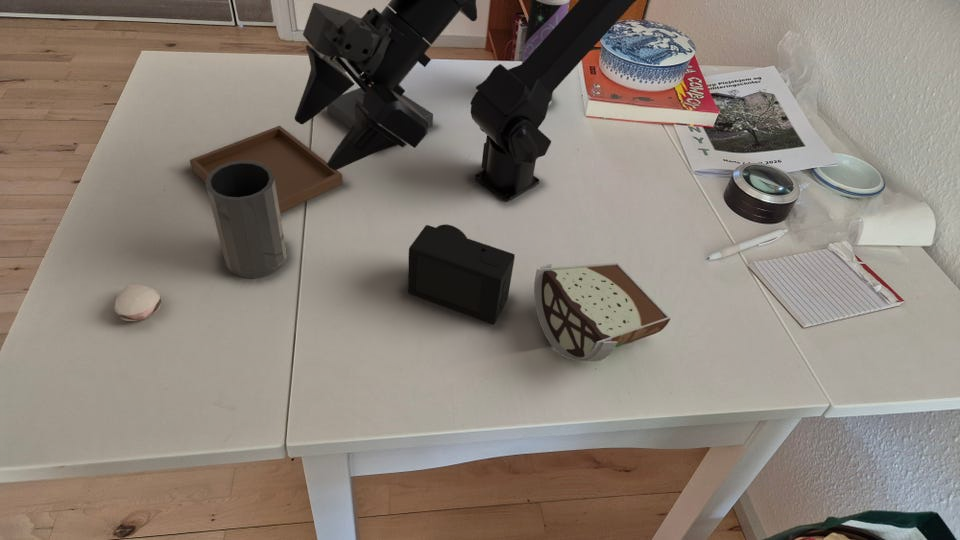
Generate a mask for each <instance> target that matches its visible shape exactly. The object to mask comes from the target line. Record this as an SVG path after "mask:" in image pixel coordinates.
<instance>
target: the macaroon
mask: <svg viewBox="0 0 960 540" xmlns="http://www.w3.org/2000/svg"><path fill="white" fill-rule="evenodd" d="M161 304H162V299H161V295H160V293H159V292H158V291H157V290H156V289H154V288H152V287H150V286H148V285H142V284H141V285H140V284H133V283H129V284H126V285H125V286H124V288H123V289H122V290H121V291H120V293H119V294H118V295H117V296H116V298H115V302H114V306H113V308H114V312H115V314H116V315H117V317H118V318H120V319H121V320H123V321H127V322H137V321H140V320H145V319H147V318H148V317H150V316H153V315H154V314H155V313H157V311H158V310H159V309H160V308H161Z"/></svg>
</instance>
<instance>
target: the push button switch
mask: <svg viewBox="0 0 960 540" xmlns="http://www.w3.org/2000/svg"><path fill="white" fill-rule="evenodd" d="M364 94H365V92H364V91H363V90H362V89H361V88H360V87H359V88H356V89H353V90H351V91H348V92H345V93H343V94H342V95H340V96H339V97H338V98H337V99H336V100H334V101H333V102H332V103H331V104H329V105H328V106H327V107H326V109H327V111H326V112H327V114H328V115H329V116H331V117H332V118H333V119H335V120H336V121H337V122H339V123H340V124H341V125H343V126H344V127H346V128H347V129H348V130H350V129H351V127H352V126H353V124H354V122H355V104H357V105H359V106H360V107H362V108H363V109H365V108H364V107H363V105H362V103H363V98H364ZM401 97H402V98H403V99H405V100H406V101H407V102H408V103H410V104H411V105H412V106H413V107H414V108H415V109H416V110H417V111H418V112H419V113H420V114H421V115H422V116H423V117H424V119H425V120H426V121H427V122H428V129H431V128H433V124H434V113H432V112H431V111H429V110H428V109H426V108H425V107H424V106H421V105H420V104H418V102H416V101H414V100H413V99H410V98H409V97H408V96H406V95H405V94H404V93H403V94H402V96H401ZM365 110H366V109H365ZM366 111H367V110H366ZM367 112H368V111H367Z"/></svg>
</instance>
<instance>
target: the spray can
mask: <svg viewBox="0 0 960 540" xmlns="http://www.w3.org/2000/svg"><path fill="white" fill-rule="evenodd" d="M570 2H571V0H530V3H529V9H528V10H529V11H528V18H527V25H526V26H527V27H526V31H525V40H524V45H523V46H524V47H523V48H524V49H523V53H522V61H521V64H522V63H523V62H524V61H525V60H526V59H527V58H528V57H529V56H530V55H531V54H532V53H533V51H534V50H535V49H536V48H537V47H538V46H539V45H540V44H541V42H542V41H543V40H544V39H545V38H546V37H547V36H548V35H549V33H550V32H551V31H552V30H553V29H554V28H555V27H556V26H557V24H558V23H559V22H560V21H561V20H562V19H563V18H564V17H565V16H566V14H567V13H568V12H569V7H570ZM553 95H554V91H553V92H552V94H551V97H550V101H549V105H548V107H550V106H551V104H552V102H553Z"/></svg>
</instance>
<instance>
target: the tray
mask: <svg viewBox="0 0 960 540" xmlns="http://www.w3.org/2000/svg"><path fill="white" fill-rule="evenodd" d="M235 161H255V162H258V163H261V164H264V165H266V166H267V167H268V168H269V169H270V170H272V172H273V175H274V178H275V184H276V191H277V197H278V203H279V209H280V214H283V213H284V212H286V211H289V210H291V209H294V208H296V207H298V206H299V205H302V204H304V203H306V202H308V201H310V200H313V199H315V198H317V197H319V196H321V195H324V194H325V193H328V192H330V191H332V190H335V189H336V188H339V187H340V186H343V184H344V182H343V174H342V173H341V172H340V171H339V170H332V169H331V168H329V167H328V166H327V163H328V161H326V160H325V159H324V158H322V157H321V156H320V155H318V154H317V153H316V152H314V150H311V149H310V148H309V147H308V146H307V145H305V144H304V143H303V142H302V141H300V140H299V139H298V138H297V137H296V136H293V135H292V134H291V133H290V132H289V131H287V130H286V129H285V128H283V126H281V125H277V126H275V127H272V128H270V129H267V130H264V131H262V132H259V133H256V134H254V135H251V136H248V137H246V138H243V139H241V140H238V141H236V142H235V141H234V142H233V143H229V144H227V145H225V146H222V147H220V148H217V149H214V150H212V151H209V152H207V153H204V154H201V155H198V156H195V157H193V158H191V159H189V164H190V168H191V171H192V172H193V173H194V174H195V175H196V176H197V177H198V178H199V179H201V181H202V182H204V183H205V184H206V179H207V177H208V175H209V174H210V173H211V172H212V171H213V170H215V169H216V168H217V167H219V166H222V165H224V164H227V163H229V162H235Z"/></svg>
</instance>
